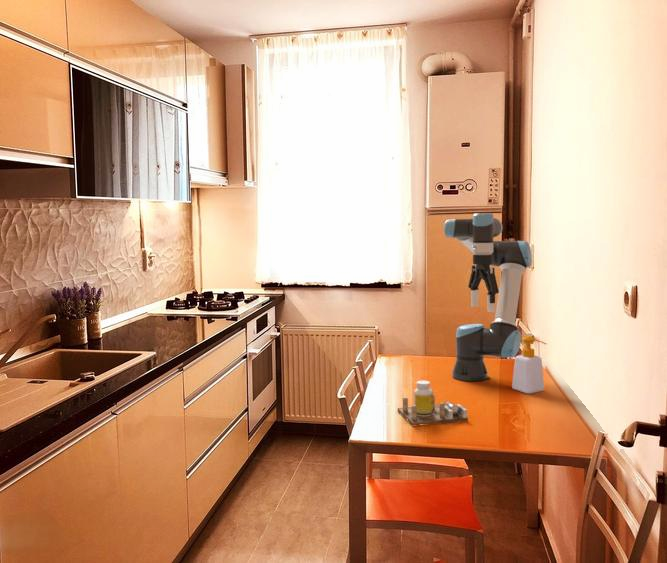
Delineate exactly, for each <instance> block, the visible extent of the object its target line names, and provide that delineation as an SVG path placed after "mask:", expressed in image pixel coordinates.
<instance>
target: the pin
mask: <svg viewBox="0 0 667 563" xmlns="http://www.w3.org/2000/svg"><path fill="white" fill-rule="evenodd" d="M444 403H445V406H447V407H448V408H450V409H451V410H452V411H453V415H454V416H458V415H459V414H460V409H459V408H457V407H456V404H454V403H452V402H451V401H446V402H444Z"/></svg>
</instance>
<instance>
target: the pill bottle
mask: <svg viewBox="0 0 667 563" xmlns="http://www.w3.org/2000/svg"><path fill="white" fill-rule="evenodd" d="M416 387H417V388H415V389H414V391H413V392H414V393H413V397H414V398H413V401H414V404H413V405H416V406H417V416H420V417H428V416H431V415H432V414H433V395H434V393H433V390H432V389H431V388H430V387H431V382H430V381H429V380H417V381H416Z"/></svg>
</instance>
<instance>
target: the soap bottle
mask: <svg viewBox="0 0 667 563" xmlns="http://www.w3.org/2000/svg"><path fill="white" fill-rule="evenodd" d="M521 341H523V343H524V344H525V345H526V347H524V348H522V354H520V355H516V356H514V366H513V373H512V374H513V375H512V381H511V383H512V384H511V387H512V389H513V390H515V391H517V392H522V393H524V394H527V395H529V394H534V393H538V392H543V391H545V384H544V383H545V381H544V372H543V359H542V357H541V356H538V355H535V348H531V345H533V344H534V341H536V342H538V343H542V344H544V345H547V343H546V342H544V341H541V340H539V339H536V338H535V337H533V336H531V335H527V336H524V337H521Z"/></svg>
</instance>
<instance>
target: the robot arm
mask: <svg viewBox="0 0 667 563" xmlns="http://www.w3.org/2000/svg"><path fill="white" fill-rule="evenodd" d="M472 216H473V217H472V218H452V219H450V218H449V219H447V220H446V221H445V222H444V226H443V227H444V228H443V231H444V236H445V237H446V238H450V239H456V240H458V241H459V242H460V243H461V244H462V245H463V246H465V248H466V249H468V250H469V251H470V254H471V255H472V264H473V265H472V266H471V273H470V277H469V282H468V285H467V286H468V288H469V289H470V291H471V292H470V295H471V296H470V297H471V298H470V302H471V303H470V304H471V308H474V307H475V308H477V307H479V286H480V283H481V282H482V281H484V283H485V284H484V285H485V287H486V290H487V293H486V295H487V296H486V297H487V299H486V300H487V303H486V304H487V310H486V311H487V313H492V312H493V313H495V315H494V320H493V321H492V322H490V323H489V324H490V325H489V328H487V327H485V326H484V324H483V323H469V324H464V325H460V326H458V327H457V328H456V334H455V335H456V336H455V342H456V343H455V345H456V346H455V347H456V348H455V350H456V352H455V353H456V360H455V363H454V365H453V369H452V378H453V379H456V380H457V381H463V382H481V381H485V380H487V379H488V375H489V374H488V370H487V367H486V364H485V361H484V356H489V357H496V358H497V357H499V358H503V359H504V358H515V357H516V356H517V354H518V352H519V350H520V347H521V345H522V344H521V343H522V332H521V331H520V330H519V327H518V326H517V324H516V318H517V311H518V305H519V297H520V290H521V283H522V276H523V275H524V274H525V273H526V272H527V268H530V267H532V264H533V263H532V262H533V261H532V259H533V258H532V250H531V246H530V244H529V242H528V241H525V240H494V238H496V237H498V236H500V234H502V232H503V228H504V227H503V226H504V225H503V224H502V222H501V221H500V219H497V218H496V217H494V214H493V213H491V212H483V213H473V215H472ZM495 267H498V268H499V270H500V272H501V276H500V283H499V286H498V282H497V278H496V273H495ZM497 294H498V296H497V301H496V295H497ZM496 302H497V303H496Z"/></svg>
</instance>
